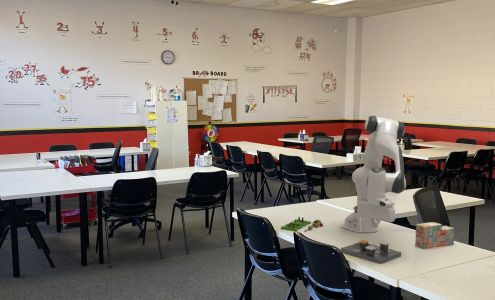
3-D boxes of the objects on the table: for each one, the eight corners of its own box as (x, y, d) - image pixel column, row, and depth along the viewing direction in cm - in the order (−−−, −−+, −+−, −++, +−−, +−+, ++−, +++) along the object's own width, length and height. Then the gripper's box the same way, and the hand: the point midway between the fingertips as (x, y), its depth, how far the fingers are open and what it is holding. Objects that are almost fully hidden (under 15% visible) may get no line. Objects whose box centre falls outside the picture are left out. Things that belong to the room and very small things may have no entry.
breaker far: (379, 249, 247) (379, 242, 247) (382, 247, 249) (383, 241, 249) (385, 250, 244) (385, 244, 244) (389, 249, 247) (389, 242, 246)
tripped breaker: (359, 247, 249) (359, 241, 249) (363, 246, 251) (363, 240, 251) (364, 249, 246) (365, 242, 246) (369, 247, 249) (369, 241, 248)
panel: (340, 252, 249) (340, 248, 249) (361, 245, 261) (361, 241, 261) (381, 263, 231) (381, 259, 231) (401, 256, 243) (401, 251, 243)
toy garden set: (296, 222, 313) (296, 215, 313) (324, 226, 303) (324, 218, 303) (280, 229, 293) (280, 222, 293) (309, 234, 284) (310, 227, 283)
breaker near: (365, 253, 239) (365, 247, 239) (369, 252, 241) (369, 245, 241) (371, 255, 236) (371, 248, 236) (375, 254, 239) (376, 247, 238)
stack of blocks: (444, 241, 269) (446, 220, 268) (453, 245, 263) (454, 222, 262) (414, 246, 261) (415, 223, 260) (423, 249, 255) (424, 226, 254)
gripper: (355, 197, 247) (353, 223, 248) (390, 204, 232) (388, 232, 233) (362, 196, 251) (361, 222, 252) (397, 202, 236) (395, 230, 237)
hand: (374, 227), depth 243 cm, fingers closed
